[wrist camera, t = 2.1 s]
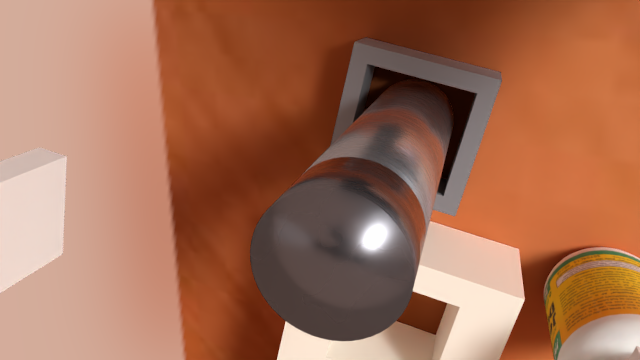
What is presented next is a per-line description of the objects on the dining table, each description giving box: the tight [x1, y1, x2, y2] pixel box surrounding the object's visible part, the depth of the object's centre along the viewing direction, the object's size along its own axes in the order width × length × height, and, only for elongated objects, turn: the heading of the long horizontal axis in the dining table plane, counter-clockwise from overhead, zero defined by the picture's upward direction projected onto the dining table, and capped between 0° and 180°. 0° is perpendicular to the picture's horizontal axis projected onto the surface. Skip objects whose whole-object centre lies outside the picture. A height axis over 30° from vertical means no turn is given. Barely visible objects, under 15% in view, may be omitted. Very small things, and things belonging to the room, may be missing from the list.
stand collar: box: [330, 37, 502, 216], centre depth 26 cm, size 7×7×2 cm
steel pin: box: [250, 79, 454, 341], centre depth 20 cm, size 4×4×16 cm
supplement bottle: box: [544, 247, 640, 360], centre depth 23 cm, size 5×5×10 cm
